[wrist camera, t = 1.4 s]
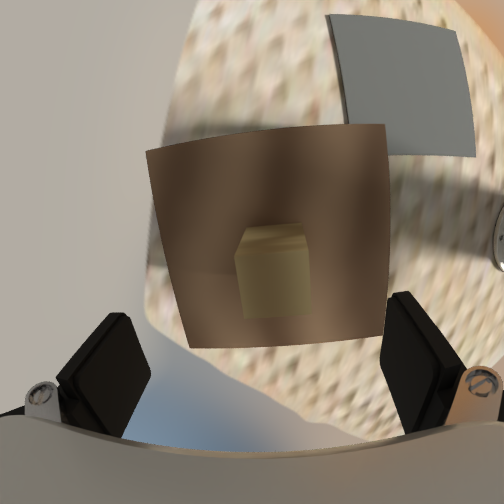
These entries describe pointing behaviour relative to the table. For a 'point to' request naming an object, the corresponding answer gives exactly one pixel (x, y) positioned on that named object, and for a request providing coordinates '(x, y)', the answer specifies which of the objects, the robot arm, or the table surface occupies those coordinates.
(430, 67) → the mat
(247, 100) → the table surface
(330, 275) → the cover
